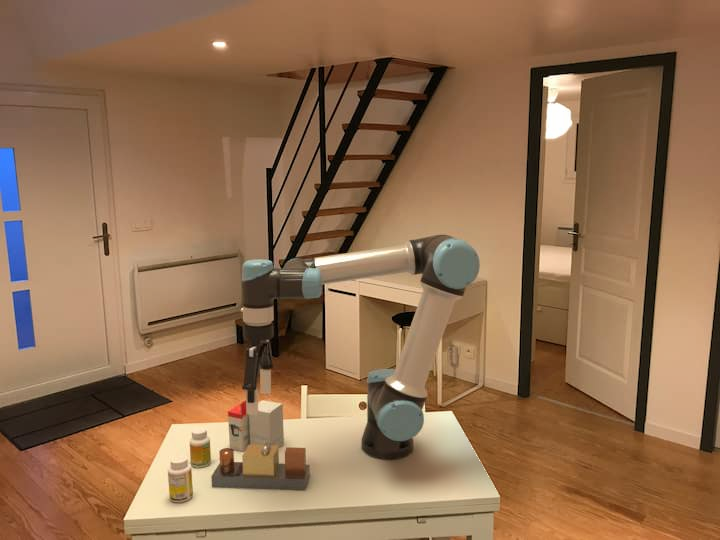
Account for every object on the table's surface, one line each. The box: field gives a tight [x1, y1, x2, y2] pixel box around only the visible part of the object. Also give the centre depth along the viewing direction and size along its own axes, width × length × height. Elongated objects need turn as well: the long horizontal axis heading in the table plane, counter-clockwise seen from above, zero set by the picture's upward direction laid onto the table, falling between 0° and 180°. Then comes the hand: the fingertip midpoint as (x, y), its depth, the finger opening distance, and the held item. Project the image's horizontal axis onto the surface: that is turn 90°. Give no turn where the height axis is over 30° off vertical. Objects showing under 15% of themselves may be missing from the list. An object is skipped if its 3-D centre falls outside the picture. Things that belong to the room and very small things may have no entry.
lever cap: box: [241, 442, 280, 477], centre depth 152 cm, size 8×6×7 cm
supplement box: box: [249, 399, 285, 448], centre depth 171 cm, size 7×7×13 cm
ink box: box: [227, 399, 250, 452], centre depth 172 cm, size 8×5×15 cm, turn 155°
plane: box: [210, 446, 311, 492], centre depth 152 cm, size 24×8×9 cm, turn 86°
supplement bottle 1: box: [167, 454, 194, 503], centre depth 144 cm, size 6×6×10 cm
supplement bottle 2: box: [189, 426, 212, 469], centre depth 161 cm, size 5×5×10 cm
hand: (259, 403), depth 149 cm, fingers open, 13 cm apart
